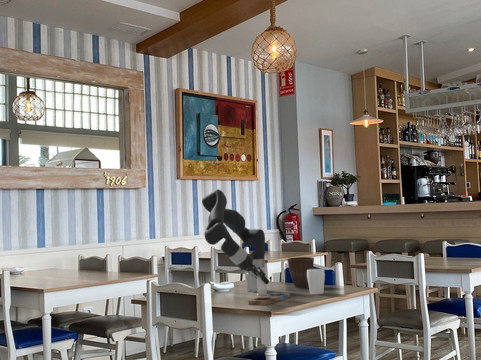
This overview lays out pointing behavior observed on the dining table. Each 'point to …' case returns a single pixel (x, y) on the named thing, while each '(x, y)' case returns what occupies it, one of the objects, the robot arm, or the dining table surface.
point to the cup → (316, 280)
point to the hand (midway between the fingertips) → (265, 282)
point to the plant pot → (300, 270)
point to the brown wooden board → (268, 299)
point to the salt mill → (261, 286)
